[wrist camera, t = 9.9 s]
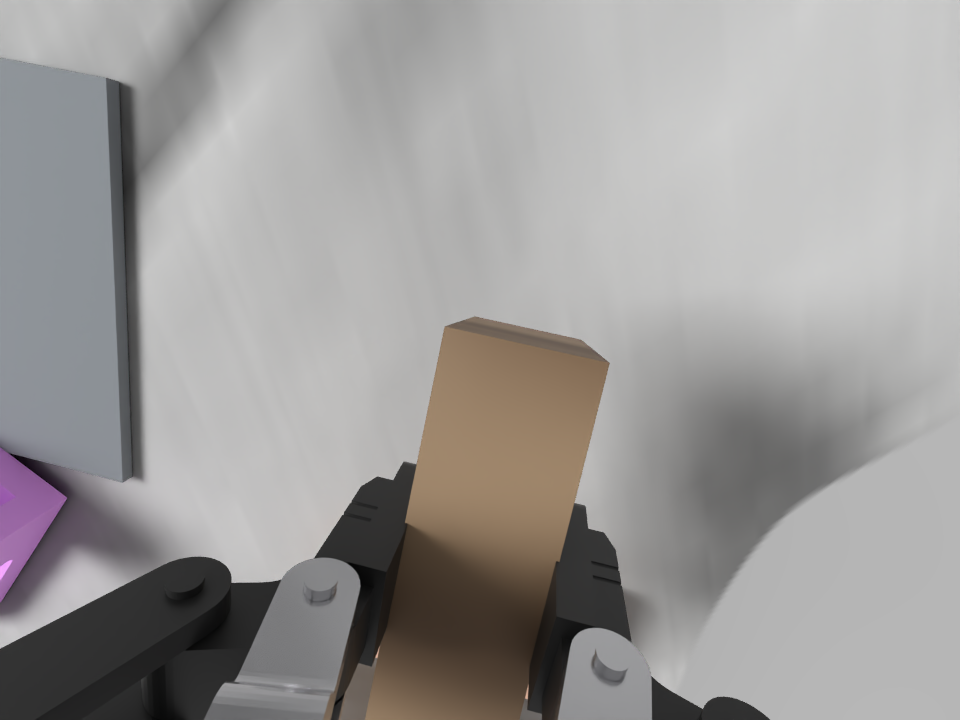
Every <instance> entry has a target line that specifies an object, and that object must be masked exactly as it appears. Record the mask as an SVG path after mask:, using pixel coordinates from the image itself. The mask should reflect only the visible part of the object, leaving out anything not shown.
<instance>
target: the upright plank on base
mask: <svg viewBox="0 0 960 720" xmlns="http://www.w3.org/2000/svg"><path fill="white" fill-rule="evenodd" d="M609 364H610V363H609V362H608V361H606V360H605V359H604V358H603V357H602V356H600V355H599V354H598V353H597V352H595V351H594V350H593V349H592V348H591V347H589V346H588V345H587V344H586V343H584V342H583V341H582V340H579V339H575V338H570V337H566V336H561V335H557V334H552V333H548V332H543V331H538V330H534V329H529V328H525V327H520V326H516V325H511V324H507V323H502V322H497V321H493V320H488V319H484V318H479V317H472V318H469V319H466V320H463V321H460V322H457V323H454V324H451V325H448V326H445V328H444V333H443V337H442V342H441V347H440V352H439V357H438V362H437V367H436V372H435V377H434V382H433V387H432V392H431V397H430V402H429V406H428V411H427V416H426V421H425V426H424V431H423V436H422V441H421V446H420V451H419V456H418V461H417V466H416V471H415V475H414V480H413V485H412V490H411V495H410V500H409V505H408V510H407V515H406V520H405V523H407V524H408V525H407V530H406V535H405V540H404V545H403V550H402V555H401V560H400V565H399V570H398V574H397V579H396V584H395V589H394V594H393V599H392V604H391V609H390V614H389V619H388V624H387V628H386V631H385V634H384V636H383V639H382V642H381V644H380V648H379V653H378V658H375V660H374V662H373V665H372V667H371V666H367V665H363V664H360V663H358V665H357V668H356V670H355V673H354V675H353V677H352V680H351V682H350V684H349V686H348V688H347V690H346V696H345V702H344V706H343V710H342V715H341V719H340V720H542V714H540V713H536V712H533V711H529V710H527V705H528V699H525V696H526V692H527V688H528V684H529V667H530V663H531V659H532V655H533V651H534V647H535V643H536V639H537V635H538V631H539V627H540V623H541V619H542V615H543V611H544V607H545V603H546V599H547V595H548V591H549V587H550V583H551V579H552V575H553V571H554V567H555V563H556V561H558V562H559V561H560V557H561V553H562V549H563V546H564V542H565V538H566V534H567V530H568V526H569V522H570V518H571V514H572V510H573V506H574V502H575V498H576V494H577V490H578V486H579V482H580V478H581V474H582V470H583V466H584V462H585V458H586V455H587V451H588V447H589V443H590V439H591V435H592V431H593V427H594V423H595V419H596V415H597V411H598V407H599V403H600V399H601V395H602V391H603V387H604V383H605V379H606V375H607V371H608V368H609Z"/></svg>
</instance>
